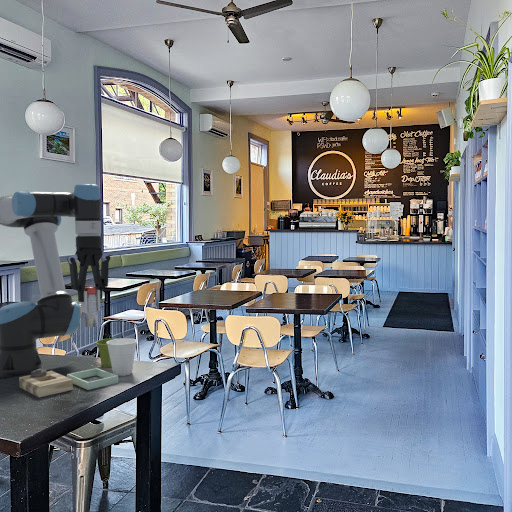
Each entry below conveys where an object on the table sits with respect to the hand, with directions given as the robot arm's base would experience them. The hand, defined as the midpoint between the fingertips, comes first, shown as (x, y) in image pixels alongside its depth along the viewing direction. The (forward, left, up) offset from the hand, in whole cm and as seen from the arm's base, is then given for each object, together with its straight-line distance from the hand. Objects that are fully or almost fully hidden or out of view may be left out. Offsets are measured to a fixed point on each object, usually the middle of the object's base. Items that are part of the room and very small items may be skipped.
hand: (90, 311), depth 167 cm
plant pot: (-17, +16, -23) cm, 33 cm away
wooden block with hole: (-4, -13, -23) cm, 27 cm away
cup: (-4, +13, -23) cm, 27 cm away
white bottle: (0, 0, -5) cm, 5 cm away
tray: (0, 0, -23) cm, 23 cm away
